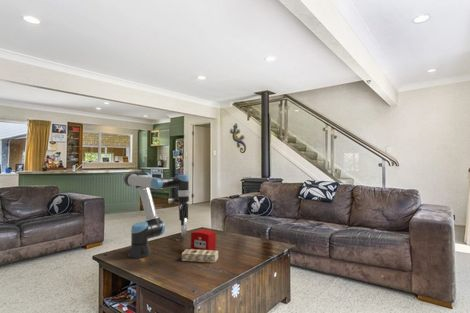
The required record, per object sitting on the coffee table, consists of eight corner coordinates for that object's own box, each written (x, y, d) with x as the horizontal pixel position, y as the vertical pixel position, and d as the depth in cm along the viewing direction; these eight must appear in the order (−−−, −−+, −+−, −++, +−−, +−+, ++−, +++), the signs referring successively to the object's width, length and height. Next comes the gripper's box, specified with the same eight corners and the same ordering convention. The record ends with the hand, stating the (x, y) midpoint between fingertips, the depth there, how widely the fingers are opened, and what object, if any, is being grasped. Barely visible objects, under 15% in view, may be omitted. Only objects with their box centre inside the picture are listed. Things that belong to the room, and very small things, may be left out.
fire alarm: (190, 250, 216) (190, 231, 216) (198, 247, 225) (198, 228, 225) (208, 254, 208) (208, 234, 208) (215, 250, 218) (215, 231, 218)
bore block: (181, 260, 194) (181, 253, 194) (186, 255, 204) (186, 248, 204) (215, 262, 191) (215, 255, 191) (218, 257, 200) (218, 250, 201)
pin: (180, 235, 196) (180, 218, 197) (182, 234, 200) (182, 217, 200) (185, 235, 195) (185, 218, 196) (187, 234, 199) (187, 217, 199)
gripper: (184, 197, 190) (184, 231, 189) (192, 194, 206) (192, 226, 205) (174, 197, 191) (174, 231, 190) (182, 194, 207) (183, 226, 207)
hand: (184, 228), depth 198 cm, fingers closed on pin, 3 cm apart
